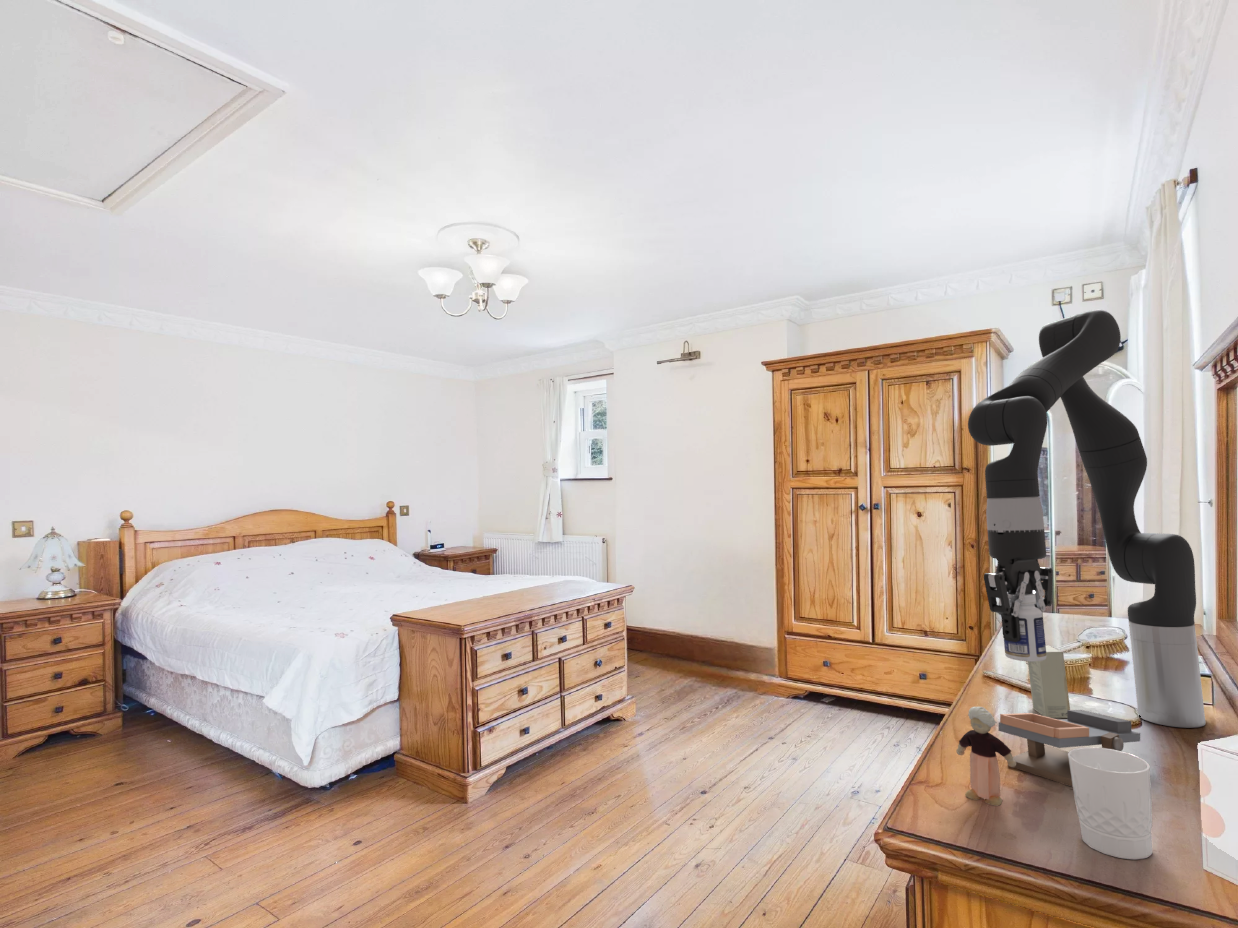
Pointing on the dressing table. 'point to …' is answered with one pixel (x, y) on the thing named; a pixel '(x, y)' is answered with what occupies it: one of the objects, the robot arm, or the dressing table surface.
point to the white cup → (1113, 801)
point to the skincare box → (1049, 684)
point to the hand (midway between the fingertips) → (1024, 637)
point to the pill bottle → (1028, 633)
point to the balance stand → (1056, 759)
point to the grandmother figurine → (984, 757)
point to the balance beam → (1067, 728)
